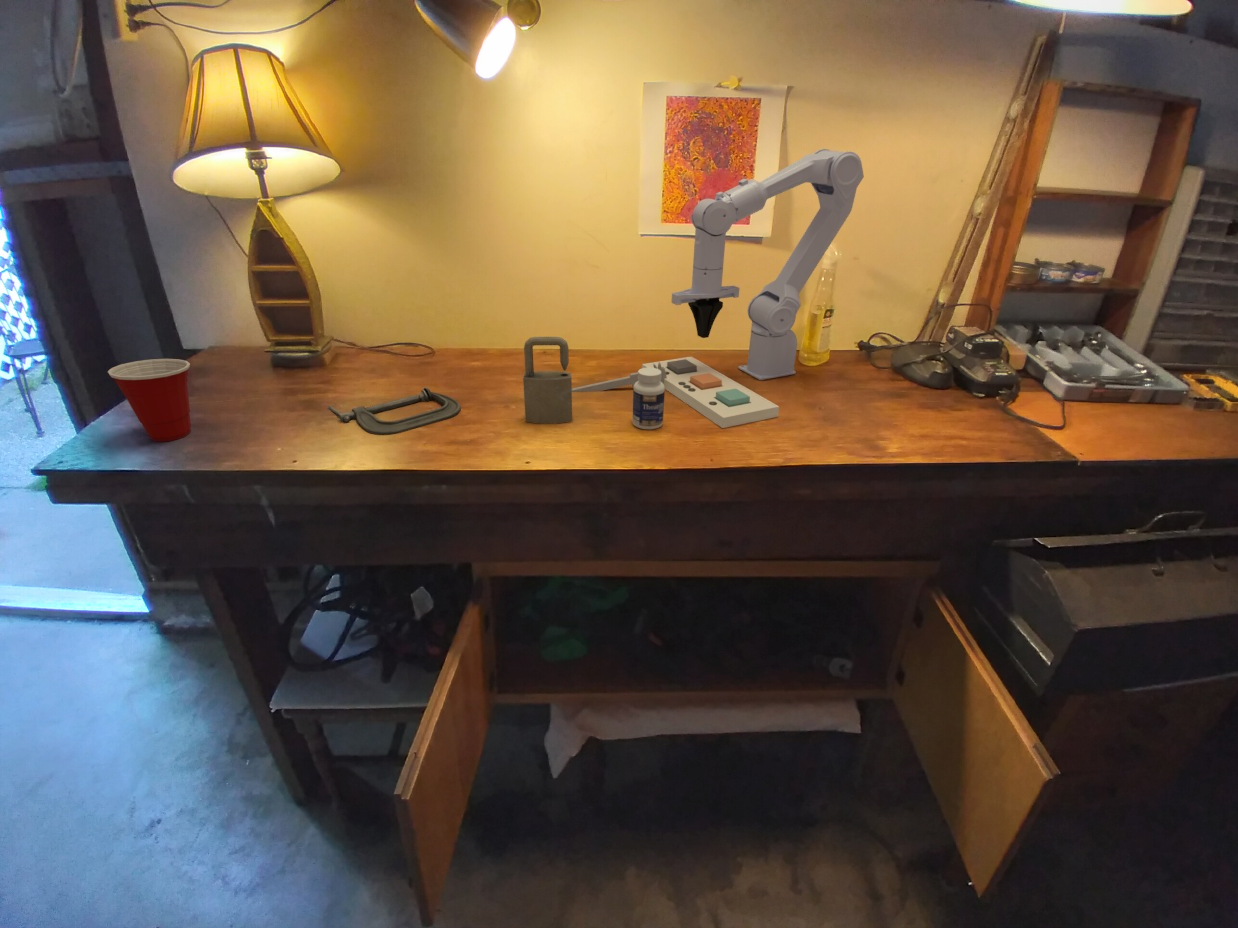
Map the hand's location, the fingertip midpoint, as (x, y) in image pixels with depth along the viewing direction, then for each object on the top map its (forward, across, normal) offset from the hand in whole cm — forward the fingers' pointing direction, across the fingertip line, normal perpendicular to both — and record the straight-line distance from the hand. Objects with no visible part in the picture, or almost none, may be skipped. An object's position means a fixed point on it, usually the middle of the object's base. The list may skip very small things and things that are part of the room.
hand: (703, 336), depth 132 cm
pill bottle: (+9, +21, +15) cm, 28 cm away
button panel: (+9, +4, +8) cm, 12 cm away
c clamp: (+9, +59, -9) cm, 60 cm away
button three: (+9, +4, +8) cm, 12 cm away
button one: (+9, +4, +17) cm, 19 cm away
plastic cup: (+9, +94, -16) cm, 96 cm away
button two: (+9, +4, -1) cm, 10 cm away
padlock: (+9, +36, +6) cm, 37 cm away
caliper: (+10, +19, -2) cm, 21 cm away
